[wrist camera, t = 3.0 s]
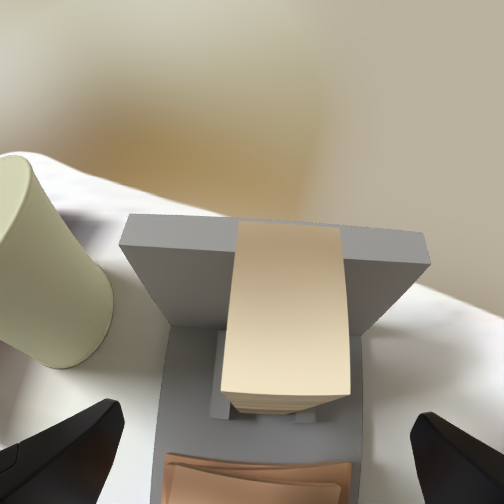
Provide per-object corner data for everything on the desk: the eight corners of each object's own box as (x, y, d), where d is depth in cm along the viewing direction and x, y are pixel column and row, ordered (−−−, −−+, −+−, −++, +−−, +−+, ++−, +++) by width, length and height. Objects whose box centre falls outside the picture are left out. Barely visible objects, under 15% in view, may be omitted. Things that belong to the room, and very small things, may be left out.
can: (6, 329, 18) (-92, 252, 8) (60, 244, 23) (-9, 141, 13) (75, 393, 16) (-60, 334, 6) (136, 286, 21) (60, 159, 11)
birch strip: (283, 414, 15) (350, 394, 5) (239, 412, 15) (220, 390, 5) (286, 350, 17) (339, 227, 7) (245, 347, 17) (238, 220, 7)
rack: (344, 556, 10) (411, 623, 2) (152, 547, 11) (82, 612, 2) (354, 316, 20) (421, 227, 11) (178, 305, 20) (131, 209, 12)
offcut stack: (340, 519, 11) (359, 537, 8) (165, 511, 12) (147, 527, 9) (345, 457, 14) (367, 463, 11) (170, 448, 14) (152, 453, 11)
